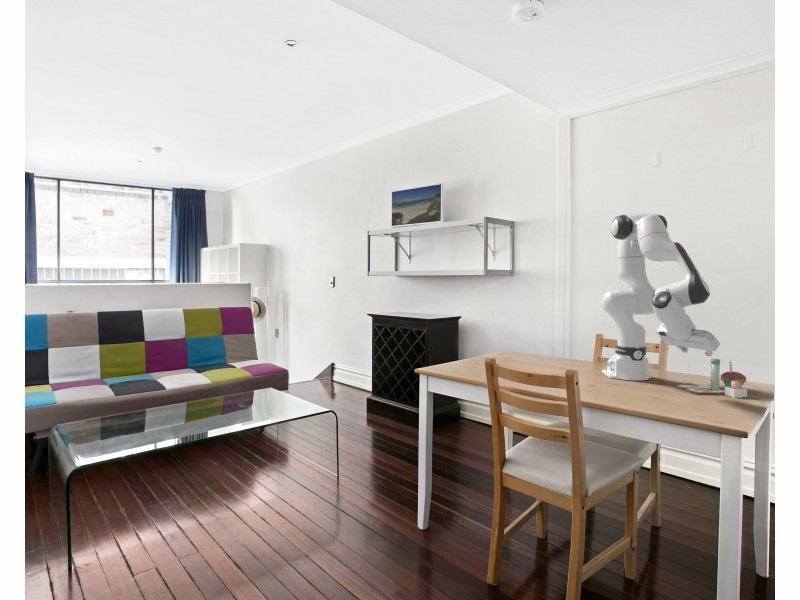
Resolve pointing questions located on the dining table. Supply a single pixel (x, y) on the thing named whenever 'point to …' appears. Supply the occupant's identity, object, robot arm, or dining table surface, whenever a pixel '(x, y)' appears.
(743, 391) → the button housing
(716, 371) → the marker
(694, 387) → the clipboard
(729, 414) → the dining table surface
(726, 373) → the cupcake
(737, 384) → the button
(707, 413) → the dining table surface
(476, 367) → the dining table surface
